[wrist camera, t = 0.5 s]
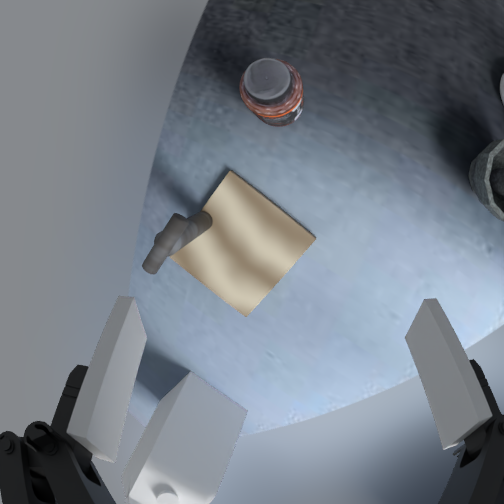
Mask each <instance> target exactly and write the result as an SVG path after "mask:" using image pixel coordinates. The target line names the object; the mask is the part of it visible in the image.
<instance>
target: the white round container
mask: <svg viewBox="0 0 504 504" xmlns="http://www.w3.org/2000/svg"><path fill="white" fill-rule="evenodd" d="M500 94H501V99H502V102H503V105H504V73H503V75H502V77H501V80H500Z"/></svg>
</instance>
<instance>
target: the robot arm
mask: <svg viewBox="0 0 504 504" xmlns="http://www.w3.org/2000/svg"><path fill="white" fill-rule="evenodd" d="M405 339H406V342H407V344H408V347H409V349H410V352H411V354H412V357H413V360H414V362H415V365H416V368H417V370H418V373H419V376H420V378H421V381H422V384H423V387H424V390H425V393H426V396H427V398H428V401H429V404H430V408H431V411H432V414H433V417H434V420H435V423H436V427H437V430H438V433H439V436H440V440H441V444H442V447H443V450H444V449H447V448H449V447H452V446H455V445H457V444H459V443H460V442H461V441H462V440H464V441H465V444H464V445H462V446H461V447H460V448H458V449H457V450H456V451H455V452H454V453H453V455H456V454H457V453H459V452H460V454H459V455H458V456H457V457H458V459H457V462H456V464H455V467H454V469H453V472H452V474H451V477H450V479H449V481H448V484H447V486H446V488H445V490H444V492H443V495H442V497H441V499H440V501H439V503H438V504H504V415H502V414H501V412H500V410H499V408H498V406H497V403H496V400H495V398H494V396H493V393H492V391H491V389H490V387H489V386H488V382H487V379H485V375H484V373H483V371H482V369H481V367H480V366H479V365H478V363H476V361H475V360H474V359H473V360H469V359H468V357H467V355H466V353H465V351H464V349H463V347H462V345H461V343H460V341H459V339H458V337H457V335H456V333H455V331H454V329H453V328H452V326H451V324H450V322H449V320H448V318H447V316H446V315H445V313H444V311H443V309H442V307H441V306H440V304H439V302H438V300H437V299H436V298H435V299H424V300H423V303H422V305H421V307H420V309H419V311H418V313H417V315H416V317H415V319H414V321H413V323H412V325H411V327H410V329H409V331H408V332H407V334H406V336H405ZM146 340H147V336H146V333H145V330H144V327H143V324H142V321H141V318H140V314H139V311H138V308H137V305H136V302H135V298H134V297H124V296H118V298H117V301H116V303H115V305H114V308H113V310H112V312H111V314H110V316H109V319H108V321H107V323H106V325H105V328H104V330H103V333H102V335H101V337H100V340H99V342H98V345H97V347H96V350H95V352H94V355H93V357H92V360H91V362H90V365H89V367H88V366H83V365H77V366H76V367H75V368H74V370H73V371H72V372H71V373H70V375H69V377H68V380H67V382H66V387H65V388H64V390H63V393H62V396H61V398H60V401H59V403H58V406H57V409H56V412H55V415H54V418H53V420H52V424H51V426H49V425H48V424H47V423H45V422H41V421H36V422H33V423H31V424H30V425H28V427H27V428H26V430H25V433H24V437H18V436H17V435H15V434H14V433H13V432H10V431H6V432H3V433H2V434H0V491H1V497H2V502H3V504H116V503H115V501H114V499H113V498H112V496H111V494H110V493H109V491H108V489H107V487H106V486H105V484H104V482H103V481H102V479H101V477H100V475H99V473H98V471H97V469H96V468H95V466H94V464H93V462H92V461H91V459H92V455H94V456H96V457H97V458H98V459H102V460H106V461H110V462H113V463H116V458H117V454H118V449H119V444H120V440H121V435H122V431H123V427H124V422H125V418H126V414H127V410H128V406H129V402H130V398H131V394H132V390H133V387H134V383H135V379H136V375H137V372H138V368H139V365H140V361H141V358H142V354H143V351H144V347H145V344H146Z"/></svg>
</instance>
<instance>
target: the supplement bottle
mask: <svg viewBox="0 0 504 504" xmlns="http://www.w3.org/2000/svg"><path fill="white" fill-rule="evenodd" d="M239 88H240V95H241V97H242V100H243V102H244V103H245V105H246V106H247V107H248V108H249V109H250V110H251V111H252V112H253V113H254V114H255V115H256V116H257V117H258V118H259V119H260V120H262V121H263V122H265V123H266V124H268V125H271V126H286V125H289V124H291V123H293V122H294V121H295V120H296V119H297V118H298V117H299V116H300V114H301V112H302V110H303V105H304V98H303V84H302V80H301V77H300V75H299V73H298V72H297V70H296V69H295V68H294V67H293V66H292V65H290V64H289V63H287V62H285V61H283V60H279V59H273V58H262V59H259V60H257V61H254V62H253V63H252V64H250V65H249V67H248V68H247V69H246V71H245V72H244V73H243V75H242V77H241V80H240V86H239Z"/></svg>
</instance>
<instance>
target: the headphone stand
mask: <svg viewBox="0 0 504 504" xmlns="http://www.w3.org/2000/svg"><path fill="white" fill-rule="evenodd" d="M315 240H316V237H315V236H314V235H313V234H311V233H310V232H309V231H308V230H307V229H305V228H304V227H303V226H302V225H300V224H299V223H298V222H297V221H296V220H294V219H293V218H292V217H291V216H289V215H288V214H287V213H286V212H284V211H283V210H282V209H281V208H279V207H278V206H277V205H276V204H274V203H273V202H272V201H271V200H269V199H268V198H267V197H266V196H264V195H263V194H262V193H260V192H259V191H258V190H257V189H255V188H254V187H253V186H251V185H250V184H249V183H248V182H246V181H245V180H244V179H242V178H241V177H240V176H238V175H237V174H236V173H235V172H233V171H229V173H228V174H227V175H226V177H225V178H224V179H223V181H222V182H221V184H220V185H219V186H218V188H217V189H216V190H215V192H214V193H213V195H212V196H211V197H210V199H209V200H208V202H207V203H206V204H205V206H204V207H203V209H202V210H201V211H200V212H199V213H197V214H195V215H193V216H191V217H189V218H187V219H186V218H185V217H183V216H182V215H180V214H177V213H174V214H173V216H172V217H171V219H170V220H169V222H168V223H167V225H166V227H165V228H164V230H163V231H161V232H159V233H158V234H157V235H156V237H155V240H154V246H153V247H152V249H151V251H150V252H149V254H148V256H147V257H146V259H145V261H144V262H143V264H142V267H143V269H144V270H145V271H146V272H148V273H150V274H156V273H157V271H158V270H159V268H160V267H161V265H162V264H163V262H164V260H165V259H166V257H167V256H170V258H171V259H173V260H174V261H175V262H176V263H177V264H179V265H180V266H181V267H182V268H184V269H185V270H186V271H187V272H189V273H190V274H191V275H192V276H194V277H195V278H196V279H197V280H199V281H200V282H201V283H202V284H204V285H205V286H206V287H207V288H209V289H210V290H211V291H213V292H214V293H215V294H216V295H218V296H219V297H220V298H222V299H223V300H224V301H225V302H227V303H228V304H229V305H231V306H232V307H233V308H235V309H236V310H237V311H238V312H240V313H241V314H242V315H244V316H245V317H247V316H248V315H249V314H250V313H251V311H252V310H253V309H254V308H255V307H256V306H257V305H258V304H259V303H260V302H261V301H262V299H263V298H264V297H265V296H266V295H267V294H268V293H269V292H270V291H271V289H272V288H273V287H274V286H275V285H276V284H277V283H278V282H279V281H280V279H281V278H282V277H283V276H284V275H285V274H286V273H287V272H288V270H289V269H290V268H291V267H292V266H293V265H294V264H295V263H296V261H297V260H298V259H299V258H300V257H301V256H302V255H303V253H304V252H305V251H306V250H307V249H308V248H309V247H310V245H311V244H312V243H313V242H314V241H315Z"/></svg>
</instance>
